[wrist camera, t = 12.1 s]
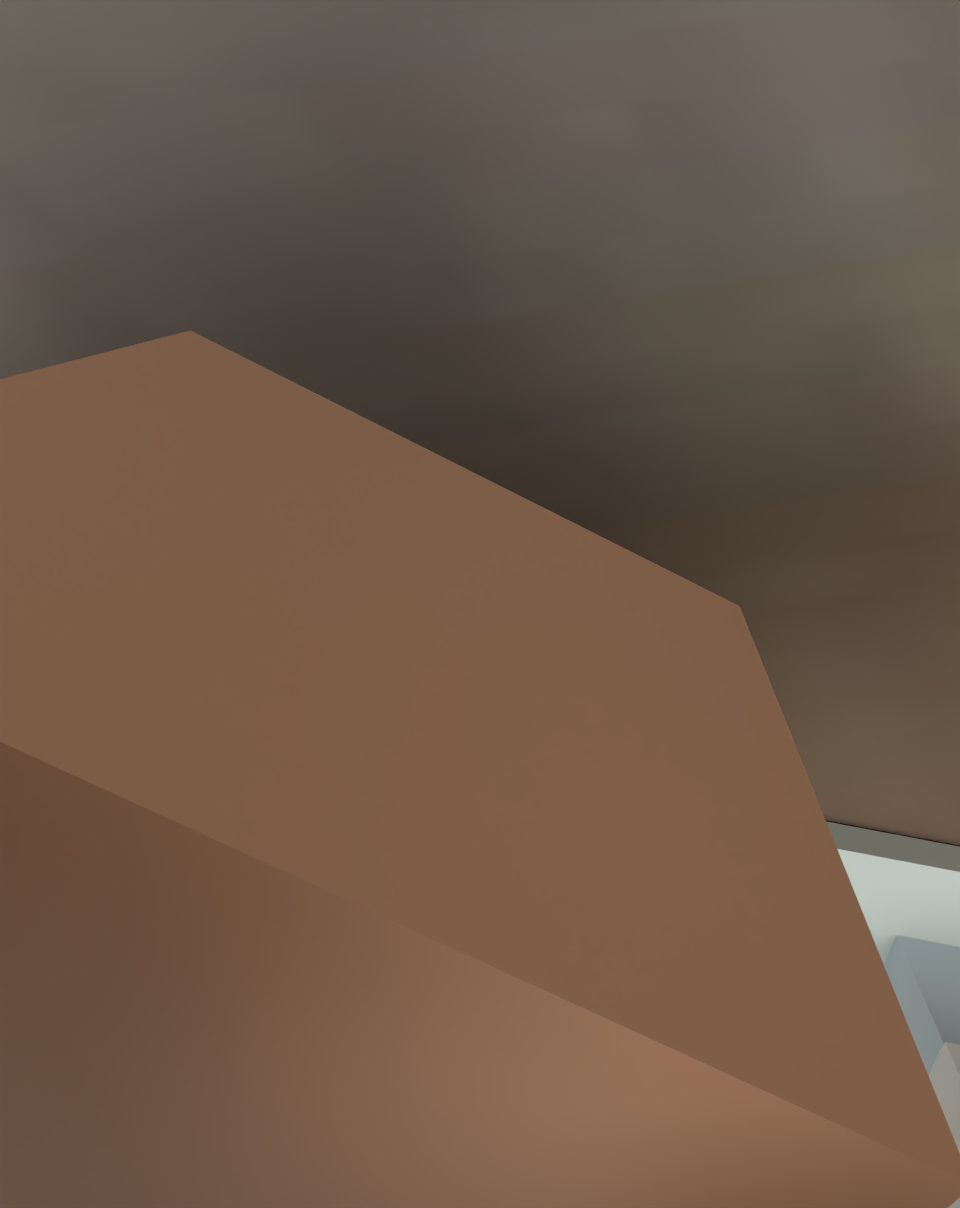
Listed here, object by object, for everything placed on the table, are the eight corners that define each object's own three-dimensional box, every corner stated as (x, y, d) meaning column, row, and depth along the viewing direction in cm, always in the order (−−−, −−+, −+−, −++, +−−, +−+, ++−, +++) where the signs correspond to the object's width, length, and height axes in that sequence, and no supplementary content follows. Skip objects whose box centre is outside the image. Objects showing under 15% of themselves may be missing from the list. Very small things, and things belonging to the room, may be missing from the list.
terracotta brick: (740, 606, 8) (973, 1185, 3) (370, 1156, 11) (210, 1854, 6) (190, 330, 7) (-509, 510, 3) (-26, 984, 10) (-517, 1589, 6)
